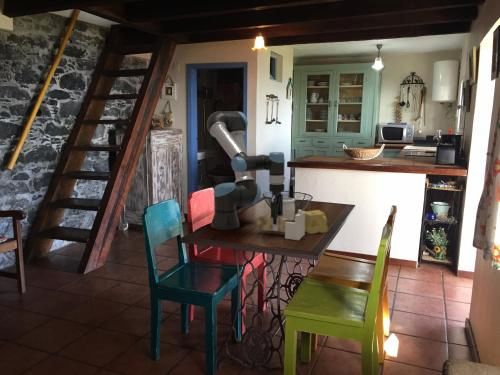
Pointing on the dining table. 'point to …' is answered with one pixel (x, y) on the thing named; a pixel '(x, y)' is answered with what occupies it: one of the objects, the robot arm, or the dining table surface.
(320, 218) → the cheese
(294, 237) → the white u-channel bracket
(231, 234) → the dining table surface
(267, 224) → the rail
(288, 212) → the white cup
